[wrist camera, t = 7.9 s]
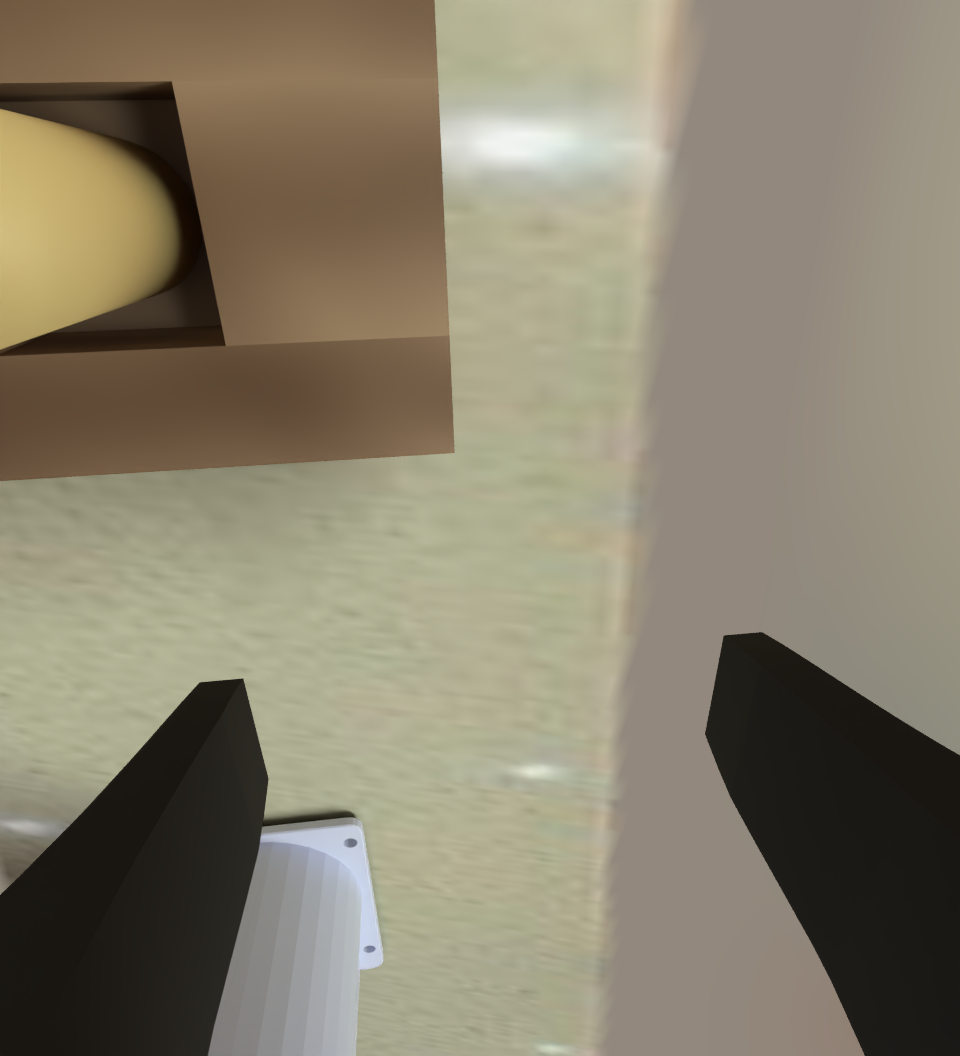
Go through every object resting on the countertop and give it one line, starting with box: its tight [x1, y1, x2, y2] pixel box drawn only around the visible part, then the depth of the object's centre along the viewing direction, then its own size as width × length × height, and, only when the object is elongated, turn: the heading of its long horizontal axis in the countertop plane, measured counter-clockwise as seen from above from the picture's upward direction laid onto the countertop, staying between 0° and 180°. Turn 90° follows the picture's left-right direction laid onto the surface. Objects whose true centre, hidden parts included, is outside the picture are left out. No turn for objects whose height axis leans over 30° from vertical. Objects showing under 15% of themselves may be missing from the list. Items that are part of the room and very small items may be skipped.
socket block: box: [0, 0, 454, 481], centre depth 14 cm, size 10×14×3 cm
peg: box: [0, 109, 201, 349], centre depth 11 cm, size 3×3×7 cm
